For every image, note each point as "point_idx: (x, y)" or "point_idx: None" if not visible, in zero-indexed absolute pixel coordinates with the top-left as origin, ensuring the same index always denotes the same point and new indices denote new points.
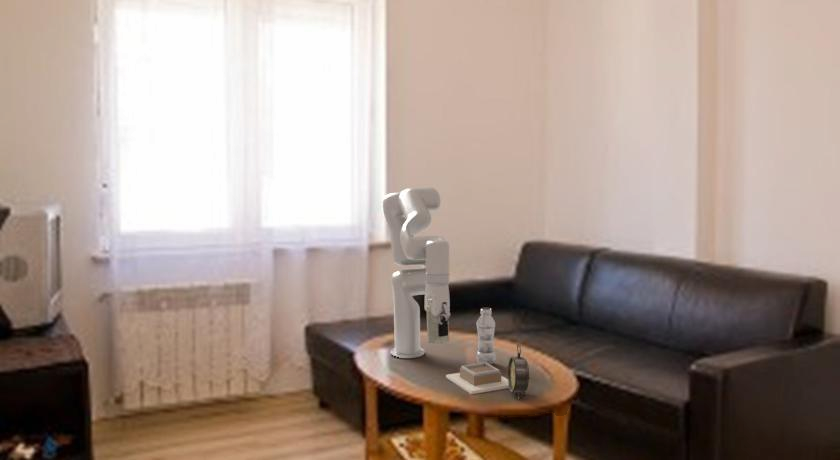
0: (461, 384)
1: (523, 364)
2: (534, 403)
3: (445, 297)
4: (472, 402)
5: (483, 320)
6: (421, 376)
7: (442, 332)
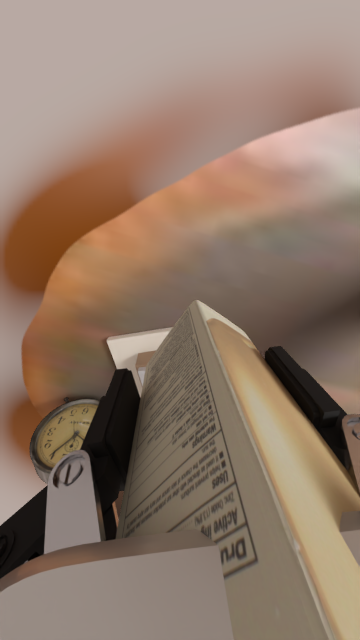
0: (153, 333)
1: (37, 473)
2: (49, 411)
3: None
4: (58, 326)
5: None
6: (260, 266)
7: (101, 403)
